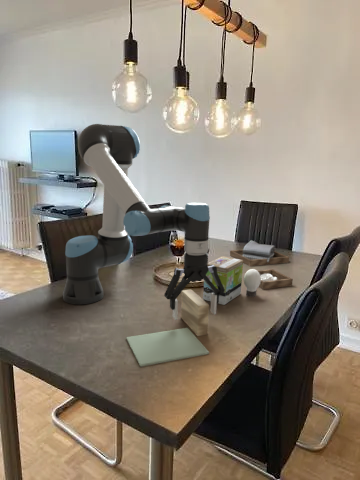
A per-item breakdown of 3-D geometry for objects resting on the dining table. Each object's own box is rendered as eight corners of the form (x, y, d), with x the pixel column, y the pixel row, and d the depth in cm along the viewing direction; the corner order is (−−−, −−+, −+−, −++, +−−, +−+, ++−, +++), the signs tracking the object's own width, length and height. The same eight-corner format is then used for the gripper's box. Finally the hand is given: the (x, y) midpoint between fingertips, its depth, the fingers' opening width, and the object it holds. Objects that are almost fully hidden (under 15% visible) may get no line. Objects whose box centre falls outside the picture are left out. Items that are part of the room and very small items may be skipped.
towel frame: (249, 266, 191) (250, 260, 190) (229, 255, 210) (230, 250, 209) (288, 262, 199) (289, 257, 199) (266, 252, 218) (266, 247, 218)
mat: (140, 366, 98) (140, 364, 98) (126, 338, 113) (126, 337, 113) (209, 353, 106) (209, 352, 105) (187, 329, 120) (187, 327, 120)
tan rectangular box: (197, 336, 116) (198, 306, 114) (181, 317, 129) (181, 290, 126) (207, 334, 117) (209, 304, 115) (190, 316, 130) (191, 289, 128)
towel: (241, 260, 199) (242, 246, 197) (248, 252, 215) (249, 239, 214) (270, 264, 193) (271, 249, 192) (275, 255, 210) (276, 242, 208)
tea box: (225, 305, 140) (227, 268, 136) (202, 300, 145) (203, 263, 142) (241, 294, 152) (243, 259, 149) (219, 288, 157) (221, 255, 154)
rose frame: (262, 289, 158) (263, 282, 157) (244, 278, 172) (244, 272, 171) (292, 285, 164) (292, 279, 163) (272, 275, 177) (272, 269, 176)
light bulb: (245, 298, 147) (247, 271, 145) (240, 292, 154) (242, 266, 151) (262, 298, 148) (264, 271, 146) (256, 291, 155) (258, 266, 152)
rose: (283, 275, 164) (269, 279, 158) (282, 284, 165) (268, 289, 159) (265, 269, 172) (251, 273, 166) (265, 278, 173) (250, 282, 167)
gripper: (162, 258, 110) (161, 325, 114) (237, 252, 118) (233, 314, 123) (154, 252, 116) (154, 316, 121) (225, 246, 125) (223, 306, 130)
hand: (194, 315), depth 122 cm, fingers open, 13 cm apart
